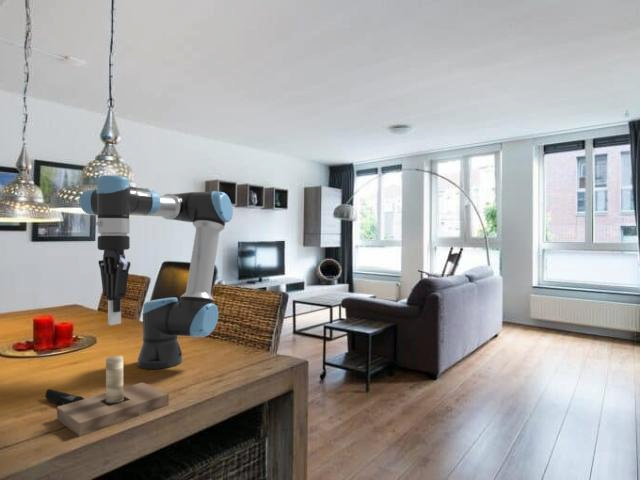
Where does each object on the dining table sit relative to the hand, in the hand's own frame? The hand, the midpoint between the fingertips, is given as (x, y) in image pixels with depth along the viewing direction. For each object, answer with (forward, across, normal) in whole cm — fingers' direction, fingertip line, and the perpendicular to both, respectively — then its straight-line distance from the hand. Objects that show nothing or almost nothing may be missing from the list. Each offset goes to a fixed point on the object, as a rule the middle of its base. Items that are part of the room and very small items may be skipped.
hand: (114, 323), depth 105 cm
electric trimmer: (+23, -14, -7) cm, 28 cm away
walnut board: (+23, +2, -1) cm, 23 cm away
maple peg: (+23, +2, -1) cm, 23 cm away
